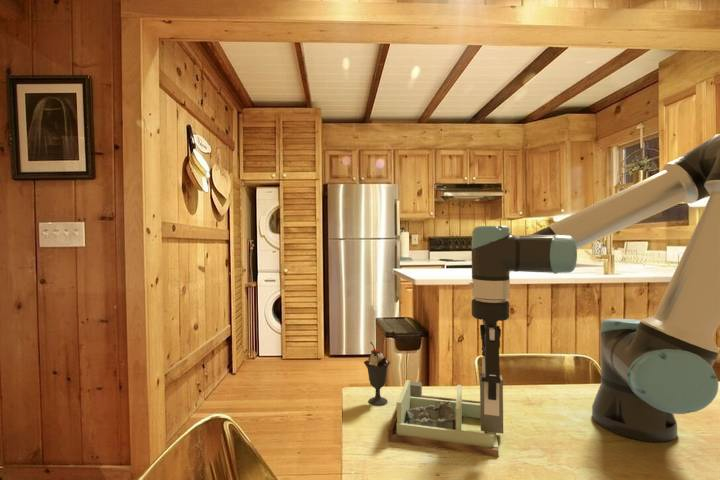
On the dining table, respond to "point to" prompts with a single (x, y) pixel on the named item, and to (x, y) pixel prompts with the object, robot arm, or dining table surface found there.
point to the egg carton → (433, 416)
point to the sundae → (377, 375)
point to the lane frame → (436, 443)
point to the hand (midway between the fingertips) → (489, 399)
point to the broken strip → (418, 390)
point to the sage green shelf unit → (459, 409)
